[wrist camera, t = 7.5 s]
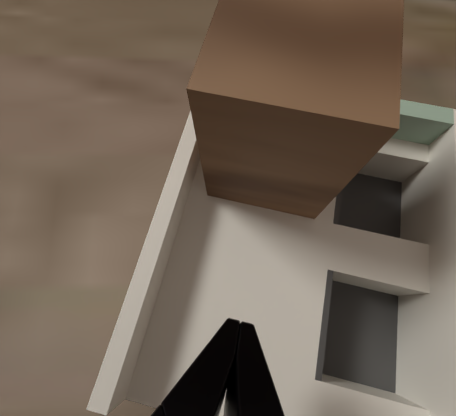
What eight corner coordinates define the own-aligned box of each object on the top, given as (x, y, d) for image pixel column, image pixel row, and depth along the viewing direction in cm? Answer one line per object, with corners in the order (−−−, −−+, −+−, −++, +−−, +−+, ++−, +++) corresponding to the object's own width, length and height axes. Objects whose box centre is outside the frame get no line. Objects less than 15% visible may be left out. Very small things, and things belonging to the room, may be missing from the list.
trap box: (406, 457, 14) (497, 532, 9) (130, 378, 15) (86, 409, 10) (411, 159, 20) (469, 111, 15) (211, 119, 21) (206, 64, 16)
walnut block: (314, 219, 15) (399, 128, 8) (207, 195, 16) (186, 88, 8) (327, 128, 17) (404, -15, 10) (231, 109, 18) (233, -40, 10)
